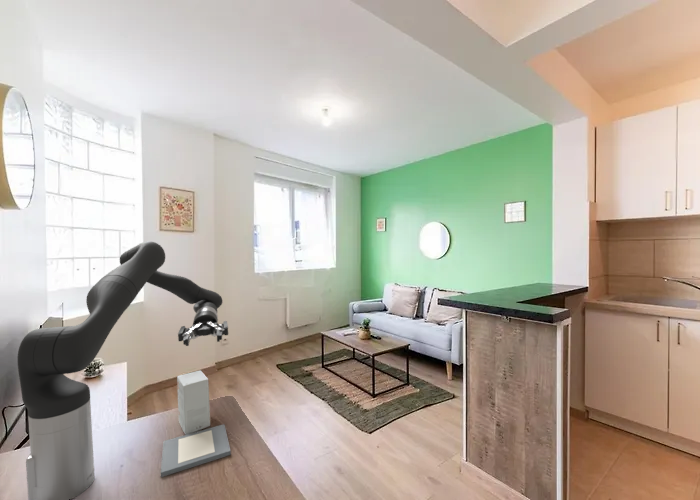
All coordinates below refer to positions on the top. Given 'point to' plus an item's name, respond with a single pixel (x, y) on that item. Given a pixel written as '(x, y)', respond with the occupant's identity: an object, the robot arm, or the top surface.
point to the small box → (193, 401)
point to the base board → (194, 449)
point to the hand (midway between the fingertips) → (202, 340)
